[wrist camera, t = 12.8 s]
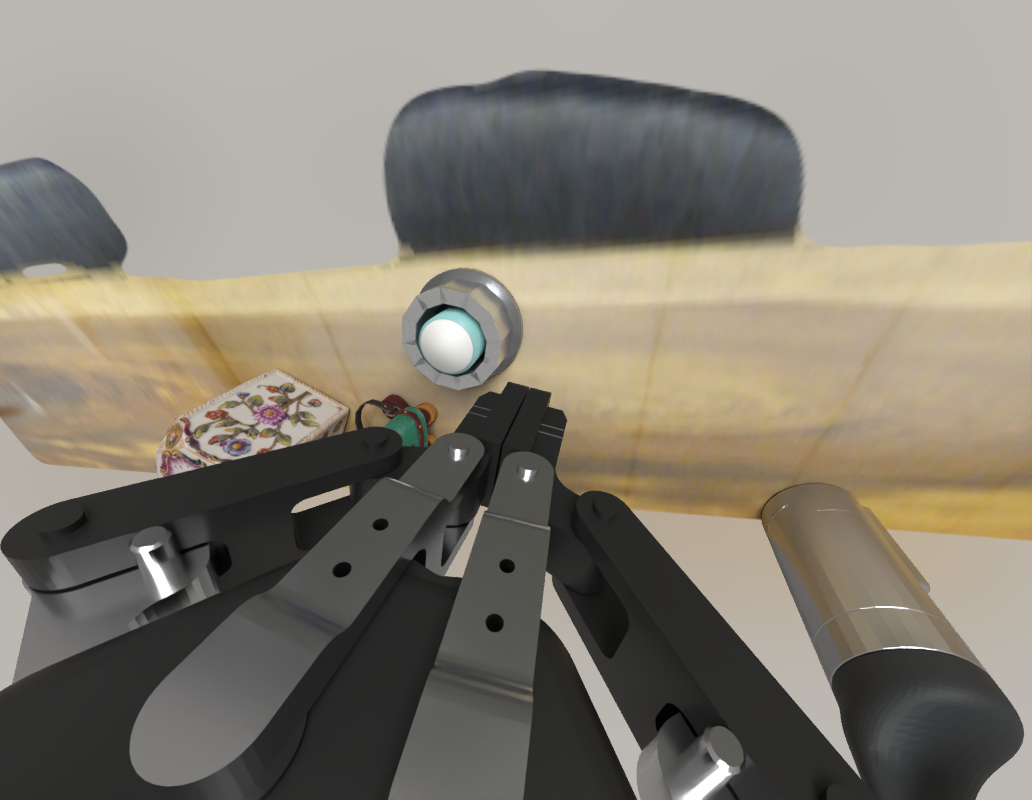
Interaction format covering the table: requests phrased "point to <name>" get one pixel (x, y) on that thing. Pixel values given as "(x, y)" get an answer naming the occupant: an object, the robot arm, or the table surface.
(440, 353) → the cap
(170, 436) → the decorative jar
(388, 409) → the binoculars
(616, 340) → the table surface
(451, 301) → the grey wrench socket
